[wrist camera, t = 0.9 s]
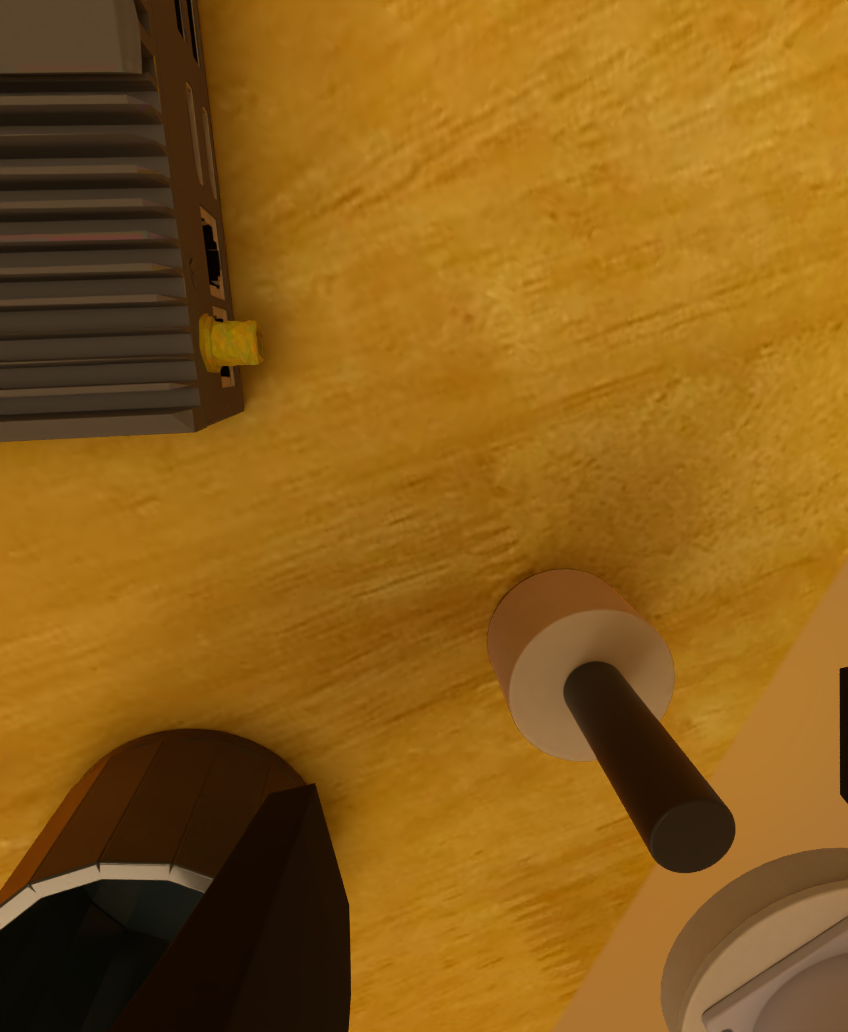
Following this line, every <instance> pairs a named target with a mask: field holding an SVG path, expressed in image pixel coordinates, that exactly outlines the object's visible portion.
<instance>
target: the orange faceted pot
mask: <svg viewBox="0 0 848 1032" xmlns="http://www.w3.org/2000/svg"><path fill="white" fill-rule="evenodd" d="M305 785H306V784H305V783H304V782H303V780H302V779H301V777H300V776H299V775H298V774H297V773H296V772H295V771H294V770H293V769H292V768H291V767H290V766H289V765H288V764H287V763H285V762H284V761H283V760H282V759H281V758H279V757H278V756H276V755H275V754H273V753H272V752H270V751H269V750H267V749H265V748H264V747H261V746H259V745H257V744H255V743H253V742H251V741H249V740H246V739H243V738H240V737H237V736H234V735H230V734H225V733H220V732H216V731H206V730H175V731H167V732H161V733H157V734H152V735H148V736H145V737H142V738H139V739H137V740H134V741H131V742H129V743H127V744H125V745H123V746H121V747H119V748H117V749H115V750H113V751H112V752H110V753H109V754H108V755H106V756H105V757H103V758H102V759H100V760H99V761H98V762H97V763H96V764H95V765H94V766H93V767H92V768H90V769H89V770H88V771H87V773H86V774H85V775H84V776H83V778H82V779H81V780H80V781H79V782H78V783H77V784H75V785H74V786H73V788H72V789H71V790H70V792H69V793H68V795H67V796H66V797H65V799H64V800H63V802H62V803H61V805H60V806H59V807H58V809H57V810H56V812H55V813H54V815H53V816H52V817H51V819H50V820H49V822H48V823H47V825H46V826H45V827H44V829H43V830H42V832H41V833H40V835H39V836H38V837H37V839H36V840H35V842H34V843H33V845H32V846H31V847H30V849H29V850H28V852H27V853H26V855H25V856H24V857H23V859H22V860H21V862H20V863H19V865H18V866H17V867H16V869H15V870H14V872H13V873H12V875H11V876H10V877H9V879H8V880H7V882H6V883H5V885H4V886H3V887H2V889H1V890H0V1032H108V1031H109V1030H110V1028H111V1027H112V1026H113V1024H114V1023H115V1021H116V1020H117V1019H118V1017H119V1016H120V1015H121V1013H122V1012H123V1010H124V1009H125V1008H126V1006H127V1005H128V1004H129V1002H130V1001H131V999H132V998H133V997H134V995H135V994H136V992H137V991H138V990H139V988H140V987H141V986H142V984H143V983H144V981H145V980H146V979H147V977H148V976H149V974H150V973H151V972H152V970H153V969H154V967H155V966H156V965H157V963H158V962H159V960H160V959H161V957H162V956H163V954H164V953H165V952H166V950H167V949H168V947H169V946H170V944H171V943H172V941H173V940H174V938H175V937H176V935H177V934H178V932H179V931H180V929H181V928H182V926H183V925H184V923H185V922H186V920H187V919H188V917H189V916H190V914H191V913H192V911H193V910H194V908H195V907H196V905H197V904H198V902H199V901H200V899H201V898H202V896H203V895H204V893H205V892H206V890H207V889H208V887H209V886H210V884H211V883H212V881H213V879H214V878H215V876H216V875H217V873H218V872H219V870H220V869H221V867H222V865H223V864H224V862H225V861H226V859H227V858H228V856H229V855H230V853H231V851H232V850H233V848H234V847H235V845H236V844H237V842H238V840H239V839H240V837H241V836H242V834H243V832H244V831H245V829H246V828H247V826H248V825H249V823H250V821H251V820H252V818H253V817H254V815H255V814H256V812H257V811H258V809H259V808H260V806H261V805H262V803H263V802H264V800H265V799H266V797H267V796H268V794H269V793H272V792H277V791H282V790H286V789H291V788H295V787H300V786H305Z"/></svg>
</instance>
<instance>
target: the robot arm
mask: <svg viewBox="0 0 848 1032" xmlns="http://www.w3.org/2000/svg"><path fill="white" fill-rule="evenodd" d="M840 795H841V796H842V797H843V798H844V800H845V801H846V802H847V803H848V667H845V668H841V669H840ZM350 1000H351V964H350V920H349V903H348V899H347V896H346V892H345V889H344V885H343V882H342V878H341V874H340V871H339V867H338V864H337V860H336V857H335V853H334V849H333V846H332V842H331V839H330V835H329V832H328V828H327V825H326V821H325V817H324V814H323V810H322V807H321V803H320V800H319V796H318V793H317V789H316V785H315V783H314V784H309V785H305V786H300V787H295V788H291V789H286V790H282V791H277V792H272V793H269V794H268V796H267V797H266V799H265V800H264V802H263V803H262V805H261V806H260V808H259V809H258V811H257V812H256V814H255V815H254V817H253V818H252V820H251V821H250V823H249V825H248V826H247V828H246V829H245V831H244V832H243V834H242V836H241V837H240V839H239V840H238V842H237V844H236V845H235V847H234V848H233V850H232V851H231V853H230V855H229V856H228V858H227V859H226V861H225V862H224V864H223V865H222V867H221V869H220V870H219V872H218V873H217V875H216V876H215V878H214V879H213V881H212V883H211V884H210V886H209V887H208V889H207V890H206V892H205V893H204V895H203V896H202V898H201V899H200V901H199V902H198V904H197V905H196V907H195V908H194V910H193V911H192V913H191V914H190V916H189V917H188V919H187V920H186V922H185V923H184V925H183V926H182V928H181V929H180V931H179V932H178V934H177V935H176V937H175V938H174V940H173V941H172V943H171V944H170V946H169V947H168V949H167V950H166V952H165V953H164V954H163V956H162V957H161V959H160V960H159V962H158V963H157V965H156V966H155V967H154V969H153V970H152V972H151V973H150V974H149V976H148V977H147V979H146V980H145V981H144V983H143V984H142V986H141V987H140V988H139V990H138V991H137V992H136V994H135V995H134V997H133V998H132V999H131V1001H130V1002H129V1004H128V1005H127V1006H126V1008H125V1009H124V1010H123V1012H122V1013H121V1015H120V1016H119V1017H118V1019H117V1020H116V1021H115V1023H114V1024H113V1026H112V1027H111V1028H110V1030H109V1031H108V1032H348V1029H349V1015H350ZM702 1022H703V1024H704V1026H705V1028H706V1030H707V1032H848V917H846V918H845V919H843V920H842V921H840V922H839V923H837V924H836V925H834V926H833V927H831V928H830V929H828V930H827V931H825V932H824V933H822V934H821V935H819V936H818V937H816V938H815V939H813V940H812V941H810V942H809V943H807V944H806V945H804V946H803V947H801V948H800V949H798V950H797V951H795V952H794V953H792V954H791V955H789V956H787V957H786V958H784V959H783V960H781V961H780V962H778V963H777V964H775V965H774V966H772V967H771V968H769V969H768V970H766V971H765V972H763V973H762V974H760V975H759V976H757V977H756V978H754V979H753V980H751V981H750V982H748V983H747V984H745V985H744V986H742V987H741V988H739V989H738V990H736V991H735V992H733V993H732V994H730V995H729V996H727V997H726V998H724V999H722V1000H721V1001H719V1002H718V1003H716V1004H715V1005H713V1006H712V1007H710V1008H709V1009H707V1010H706V1011H705V1012H704V1014H703V1016H702Z"/></svg>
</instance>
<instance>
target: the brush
mask: <svg viewBox="0 0 848 1032" xmlns="http://www.w3.org/2000/svg"><path fill="white" fill-rule="evenodd" d="M487 645H488V653H489V658H490V661H491V663H492V666H493V669H494V671H495V674H496V676H497V679H498V681H499V684H500V686H501V689H502V692H503V694H504V697H505V699H506V702H507V704H508V707H509V709H510V712H511V714H512V717H513V719H514V722H515V724H516V725H517V727H518V729H519V730H520V732H521V733H522V734H523V736H524V737H525V738H526V739H527V740H528V741H529V742H530V743H531V744H532V745H534V746H535V747H537V748H538V749H539V750H541V751H543V752H545V753H547V754H549V755H551V756H554V757H557V758H560V759H565V760H570V761H593V760H598V761H599V763H600V765H601V767H602V768H603V770H604V772H605V774H606V776H607V777H608V779H609V781H610V783H611V784H612V786H613V788H614V790H615V791H616V793H617V795H618V797H619V799H620V800H621V802H622V804H623V806H624V807H625V809H626V811H627V813H628V814H629V816H630V818H631V820H632V822H633V823H634V825H635V827H636V829H637V830H638V832H639V834H640V836H641V837H642V839H643V841H644V843H645V845H646V846H647V848H648V850H649V852H650V853H651V855H652V857H653V858H654V860H655V861H656V862H657V863H658V864H660V865H661V866H662V867H664V868H666V869H668V870H670V871H673V872H678V873H692V872H697V871H701V870H703V869H706V868H708V867H710V866H712V865H713V864H715V863H716V862H718V861H719V860H720V859H721V858H722V857H723V856H724V855H725V854H726V853H727V852H728V850H729V848H730V847H731V845H732V843H733V840H734V837H735V822H734V818H733V815H732V813H731V812H730V810H729V809H728V807H727V806H726V805H725V804H724V802H723V801H722V800H721V799H720V797H719V796H718V795H717V794H716V792H715V791H714V790H713V789H712V787H711V786H710V785H709V784H708V782H707V781H706V780H705V779H704V777H703V776H702V775H701V774H700V772H699V771H698V770H697V768H696V767H695V766H694V765H693V763H692V762H691V761H690V760H689V758H688V757H687V756H686V755H685V753H684V752H683V751H682V750H681V748H680V747H679V746H678V745H677V743H676V742H675V741H674V740H673V738H672V737H671V736H670V735H669V733H668V732H667V731H666V729H665V728H664V727H663V726H662V724H661V723H660V722H659V721H660V720H661V718H662V717H663V715H664V713H665V712H666V710H667V707H668V705H669V703H670V700H671V697H672V694H673V688H674V680H675V672H674V663H673V659H672V656H671V652H670V650H669V648H668V646H667V644H666V642H665V640H664V639H663V637H662V636H661V635H660V634H659V632H658V631H657V630H656V629H655V628H654V627H653V626H652V625H651V624H650V623H649V622H648V621H647V620H645V619H644V618H643V617H642V616H641V615H640V614H639V613H638V612H637V611H636V610H635V609H634V608H633V607H632V606H631V605H630V604H629V603H628V602H627V601H625V600H624V599H623V598H622V597H621V596H620V595H619V594H618V593H617V592H616V591H615V590H614V589H613V588H612V587H611V586H609V585H608V584H607V583H606V582H605V581H603V580H601V579H600V578H598V577H596V576H594V575H592V574H590V573H586V572H583V571H579V570H572V569H559V570H551V571H547V572H542V573H540V574H537V575H534V576H532V577H530V578H528V579H526V580H524V581H523V582H521V583H520V584H518V585H517V586H516V587H514V588H513V589H512V590H511V591H510V592H509V593H508V594H507V595H506V596H505V597H504V598H503V600H502V601H501V603H500V604H499V605H498V607H497V609H496V611H495V613H494V614H493V617H492V620H491V622H490V626H489V630H488V639H487Z"/></svg>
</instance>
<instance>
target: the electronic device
mask: <svg viewBox="0 0 848 1032" xmlns="http://www.w3.org/2000/svg"><path fill="white" fill-rule="evenodd" d="M261 362H263V341H262V335H261V331H260V328H259V325H258V322H257V321H253V320H248V321H245V322H241V321H234V320H233V311H232V303H231V294H230V286H229V277H228V269H227V260H226V252H225V243H224V234H223V226H222V217H221V207H220V196H219V188H218V179H217V170H216V162H215V153H214V145H213V136H212V128H211V119H210V111H209V102H208V94H207V85H206V77H205V68H204V59H203V51H202V42H201V33H200V25H199V16H198V7H197V0H0V442H7V441H27V440H47V439H68V438H88V437H108V436H128V435H149V434H169V433H189V432H197V431H199V430H202V429H204V428H207V426H209V425H211V424H214V423H216V422H219V421H221V420H223V419H226V418H228V417H231V416H233V415H236V414H238V413H240V412H243V410H244V405H243V397H242V388H241V379H240V371H239V365H257V364H260V363H261Z"/></svg>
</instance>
